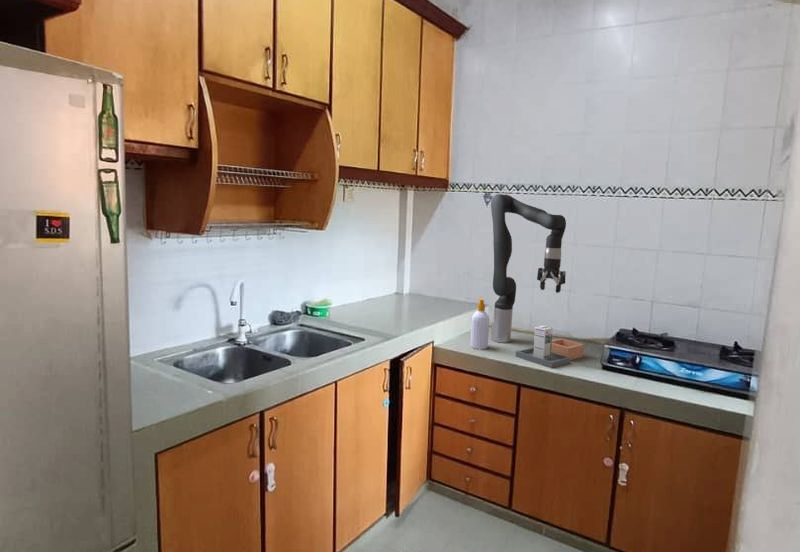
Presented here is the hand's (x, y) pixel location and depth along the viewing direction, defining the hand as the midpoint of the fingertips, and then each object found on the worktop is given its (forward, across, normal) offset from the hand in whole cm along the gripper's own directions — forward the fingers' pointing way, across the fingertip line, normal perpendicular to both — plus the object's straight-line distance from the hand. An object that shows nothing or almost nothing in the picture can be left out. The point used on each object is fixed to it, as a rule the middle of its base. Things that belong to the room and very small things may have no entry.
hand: (550, 291), depth 248 cm
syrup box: (+30, +6, -11) cm, 32 cm away
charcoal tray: (+30, +7, -12) cm, 33 cm away
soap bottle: (+30, -24, -21) cm, 44 cm away
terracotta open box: (+30, +8, +4) cm, 31 cm away
